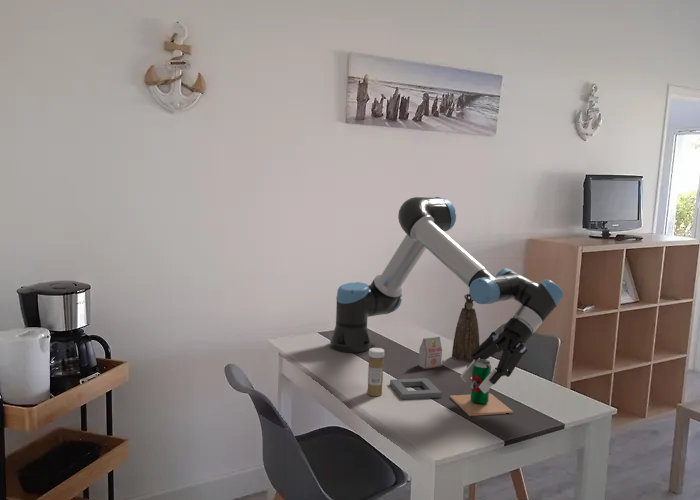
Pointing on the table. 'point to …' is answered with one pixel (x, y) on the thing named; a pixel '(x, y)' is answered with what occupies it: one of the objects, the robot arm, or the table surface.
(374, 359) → the sprinkles bottle
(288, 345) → the table surface
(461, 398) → the terracotta tile
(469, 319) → the statue
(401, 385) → the socket block
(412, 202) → the robot arm
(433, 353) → the white red carton
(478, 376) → the soda can
